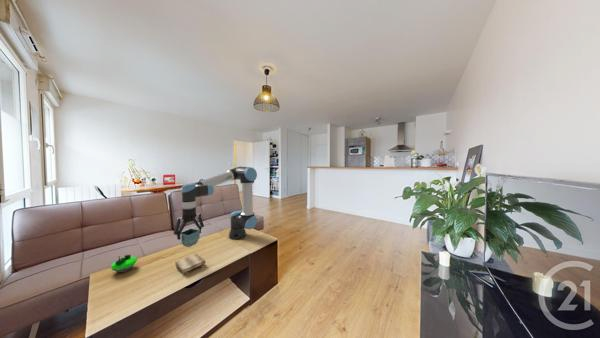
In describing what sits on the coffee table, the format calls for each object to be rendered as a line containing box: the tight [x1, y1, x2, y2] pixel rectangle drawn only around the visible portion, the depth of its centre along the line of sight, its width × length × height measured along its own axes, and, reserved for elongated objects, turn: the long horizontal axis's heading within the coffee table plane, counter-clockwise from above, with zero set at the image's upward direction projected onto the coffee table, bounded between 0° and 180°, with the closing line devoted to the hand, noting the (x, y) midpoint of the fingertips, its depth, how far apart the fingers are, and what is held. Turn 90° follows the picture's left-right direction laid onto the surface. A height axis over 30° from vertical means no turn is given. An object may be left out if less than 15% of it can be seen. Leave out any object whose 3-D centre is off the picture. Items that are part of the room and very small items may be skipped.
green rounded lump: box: [110, 254, 138, 273], centre depth 115 cm, size 12×12×11 cm
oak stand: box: [175, 253, 206, 276], centre depth 119 cm, size 13×13×4 cm
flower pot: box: [181, 228, 201, 248], centre depth 118 cm, size 9×9×9 cm
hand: (189, 241), depth 118 cm, fingers closed on flower pot, 10 cm apart
